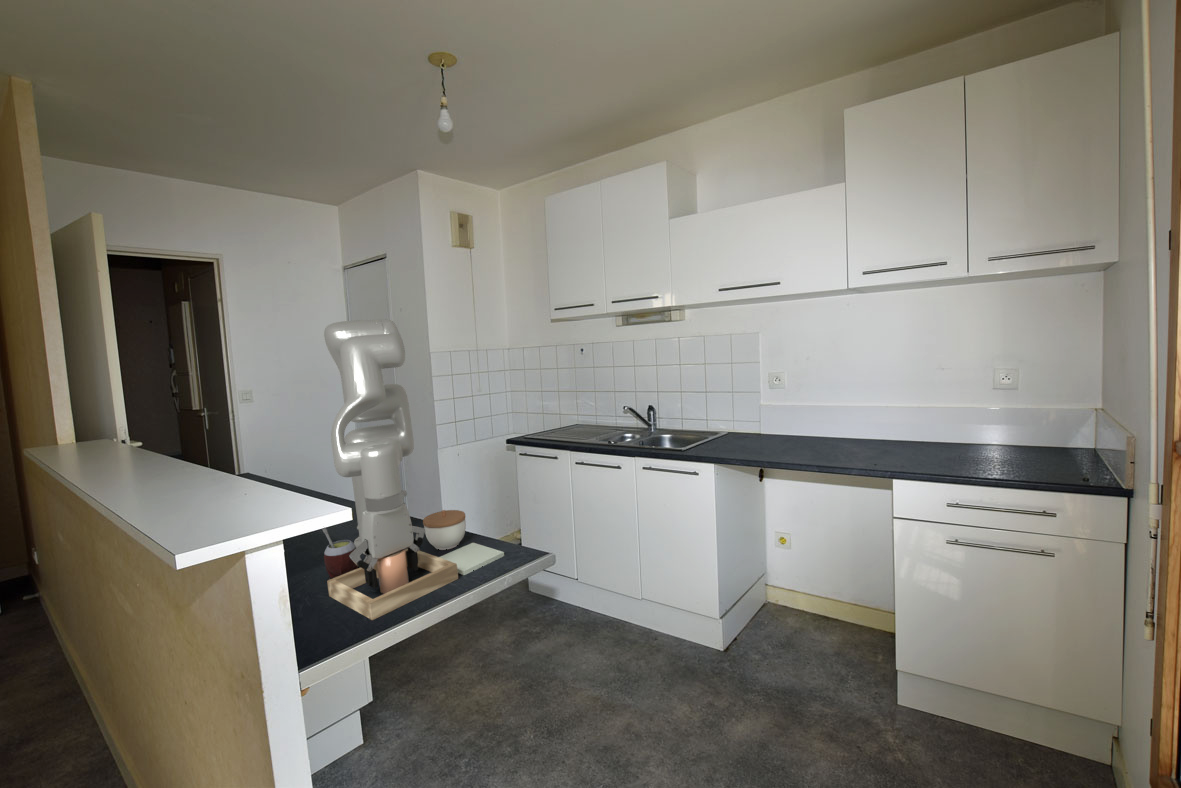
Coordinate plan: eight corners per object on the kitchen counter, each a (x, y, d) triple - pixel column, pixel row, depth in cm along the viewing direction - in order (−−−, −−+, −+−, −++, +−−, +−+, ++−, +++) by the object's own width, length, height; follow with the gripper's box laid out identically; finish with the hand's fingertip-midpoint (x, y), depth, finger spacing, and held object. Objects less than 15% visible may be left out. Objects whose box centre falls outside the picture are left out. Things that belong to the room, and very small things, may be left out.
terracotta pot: (375, 589, 118) (370, 554, 117) (399, 578, 123) (395, 544, 122) (389, 596, 114) (384, 560, 113) (414, 585, 119) (410, 550, 118)
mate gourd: (360, 567, 130) (353, 508, 129) (358, 580, 123) (350, 517, 121) (326, 574, 128) (318, 513, 126) (322, 588, 121) (313, 524, 119)
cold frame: (329, 596, 116) (327, 580, 116) (412, 561, 132) (410, 547, 132) (372, 620, 105) (370, 603, 104) (458, 578, 120) (456, 563, 120)
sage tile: (433, 563, 129) (433, 559, 129) (473, 546, 139) (472, 542, 138) (464, 575, 122) (463, 571, 122) (504, 555, 131) (503, 552, 131)
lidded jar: (457, 553, 134) (453, 517, 133) (418, 553, 137) (414, 517, 136) (474, 537, 145) (471, 503, 144) (438, 537, 147) (434, 504, 146)
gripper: (410, 489, 125) (418, 559, 127) (336, 511, 112) (346, 589, 114) (428, 493, 120) (437, 566, 122) (354, 517, 107) (364, 598, 109)
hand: (393, 577), depth 118 cm, fingers open, 9 cm apart
